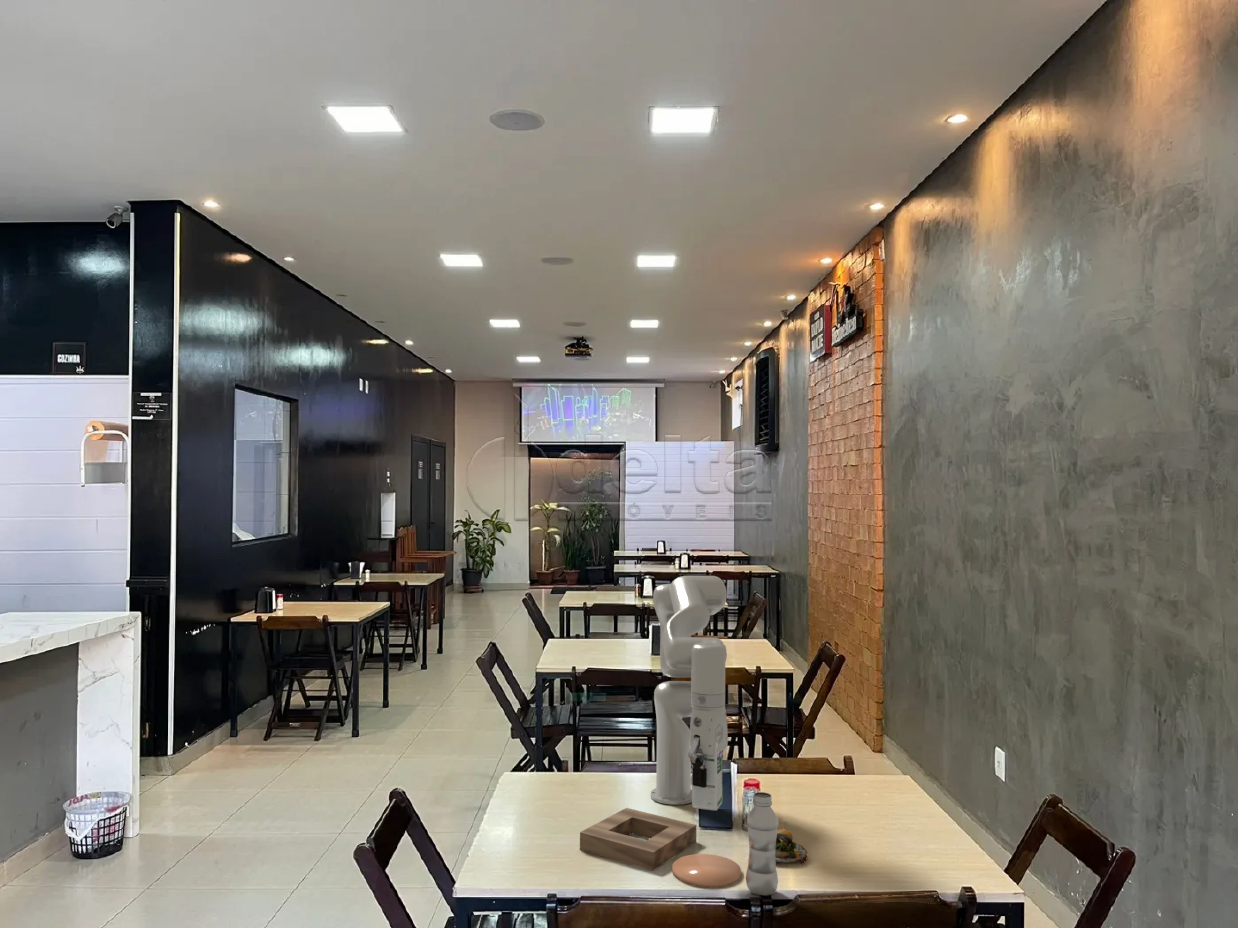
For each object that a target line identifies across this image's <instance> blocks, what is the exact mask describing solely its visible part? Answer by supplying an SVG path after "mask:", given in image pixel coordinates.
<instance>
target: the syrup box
mask: <svg viewBox="0 0 1238 928" xmlns="http://www.w3.org/2000/svg"><path fill="white" fill-rule="evenodd" d="M697 752H698V753H703V752H702V751H701V750H699V749H698V751H697ZM697 758H699V759H700V761H702V757H700V756H697ZM692 768H693V767H692V766H691V769H692ZM705 768H706V769H707V786H706V787H705V788H702V787H698V786H694V785H693V784H692V785H691V790H692V802H691V807H692V808H695V809H699V810H700V809H701V810H708V811H718V810H719V808H720V807H721V805H722V804H723V802H724V801H723V799H724V798H723V797H724V796H723V795H724V794H723V793H724V792H723V788H724V787H723V781H724V780H723V776H724V775H723V759H722V751H721V752H719V750H718V742H716V743H715V745H714V755H713V756H710V757H708V756H707V759H706V764H705Z"/></svg>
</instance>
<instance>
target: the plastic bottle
mask: <svg viewBox="0 0 1238 928" xmlns="http://www.w3.org/2000/svg"><path fill="white" fill-rule="evenodd" d="M752 803H753V807H752V808H751V809H750V811H749V813H748V815H747V818H746V824H747V832H748V850H749V852H748V863H747V869H746V873H745V881H746V887H747V888H748V890H749V891H750V892H751V893H752V894H755V895H759V896H770V895H773V894H774V893H775V892H776V891H777V889H778V884H779V878H778V872H777V863H776V862H777V861H776V859H775V848H776V837H777V831H778V830H779V824H780V823H779V819H778V816H777V815H776V812H775V811H774V810H773V808H772V805H773V801H772V794H771V793H768V792H763V791H758V792H757V791H756V792H754V793H753V801H752Z"/></svg>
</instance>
